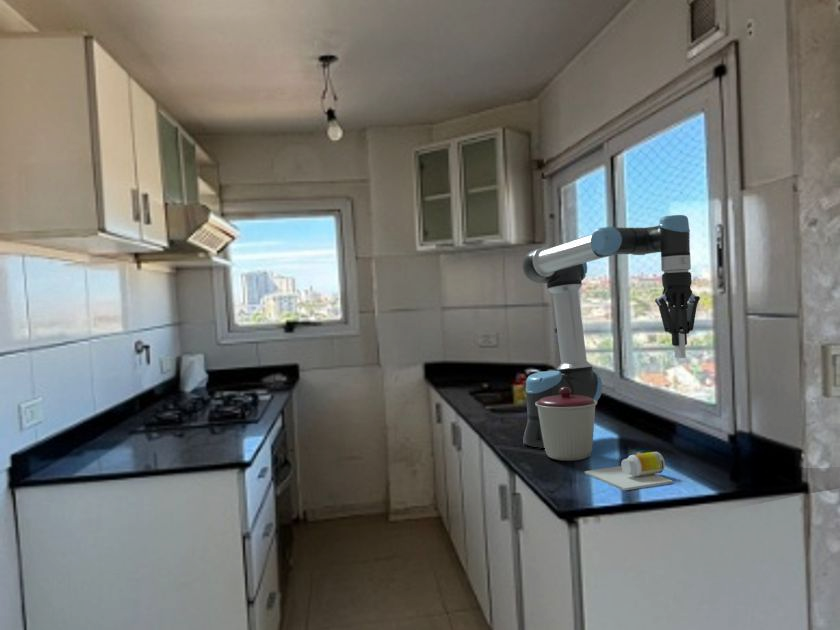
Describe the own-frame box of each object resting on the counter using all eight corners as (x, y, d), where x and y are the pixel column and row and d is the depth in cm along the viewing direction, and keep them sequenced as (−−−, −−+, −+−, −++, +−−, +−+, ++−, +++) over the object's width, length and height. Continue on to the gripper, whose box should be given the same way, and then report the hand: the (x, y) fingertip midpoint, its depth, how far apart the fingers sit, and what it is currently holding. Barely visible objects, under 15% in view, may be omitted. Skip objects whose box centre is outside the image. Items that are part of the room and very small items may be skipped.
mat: (584, 473, 175) (584, 471, 175) (629, 467, 179) (629, 464, 179) (624, 490, 157) (624, 488, 157) (672, 483, 161) (672, 480, 161)
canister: (526, 455, 199) (523, 386, 198) (576, 447, 205) (573, 381, 205) (559, 467, 182) (555, 393, 181) (612, 459, 188) (609, 387, 188)
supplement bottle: (656, 446, 170) (623, 451, 167) (668, 462, 166) (635, 467, 162) (649, 461, 173) (616, 466, 170) (661, 477, 169) (628, 482, 166)
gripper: (664, 272, 173) (668, 360, 173) (705, 270, 176) (709, 356, 177) (647, 273, 180) (651, 358, 180) (687, 271, 183) (691, 354, 184)
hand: (680, 357), depth 179 cm, fingers closed
